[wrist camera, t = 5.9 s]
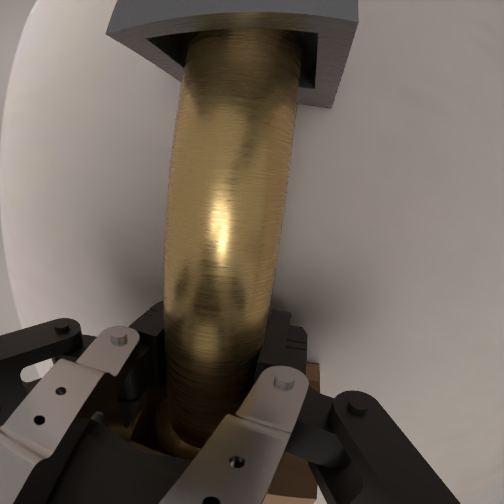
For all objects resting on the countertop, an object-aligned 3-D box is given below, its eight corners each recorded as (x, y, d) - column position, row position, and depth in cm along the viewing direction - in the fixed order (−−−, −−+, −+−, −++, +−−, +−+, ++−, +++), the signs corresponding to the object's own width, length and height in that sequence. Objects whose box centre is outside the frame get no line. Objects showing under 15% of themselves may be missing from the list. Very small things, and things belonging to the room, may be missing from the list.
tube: (211, 15, 8) (165, -47, 4) (325, 18, 7) (329, -58, 3) (180, 404, 12) (143, 465, 8) (264, 425, 12) (247, 496, 8)
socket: (159, 330, 14) (71, 422, 7) (319, 364, 12) (316, 499, 5) (164, 398, 15) (105, 485, 8) (297, 430, 14) (281, 539, 7)
